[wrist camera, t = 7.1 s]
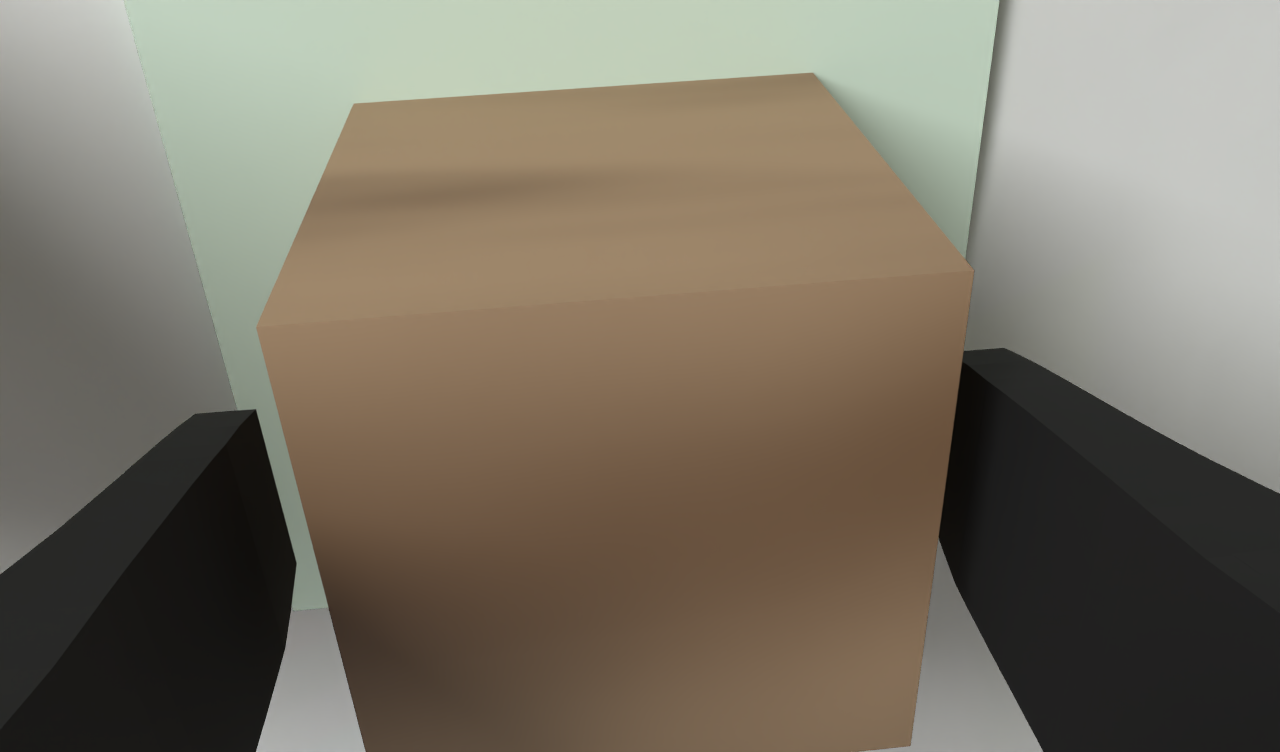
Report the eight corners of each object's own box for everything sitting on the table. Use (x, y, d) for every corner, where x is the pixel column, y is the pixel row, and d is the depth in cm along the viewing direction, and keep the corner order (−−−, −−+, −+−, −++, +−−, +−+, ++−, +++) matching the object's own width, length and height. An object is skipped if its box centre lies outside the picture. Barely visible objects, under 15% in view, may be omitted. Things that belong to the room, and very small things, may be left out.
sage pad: (920, 540, 18) (926, 553, 17) (296, 597, 17) (293, 611, 17) (1007, -135, 12) (1016, -132, 12) (110, -88, 12) (100, -84, 12)
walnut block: (796, 444, 16) (910, 745, 11) (421, 477, 16) (377, 801, 11) (812, 71, 13) (974, 270, 8) (353, 103, 13) (256, 327, 8)
